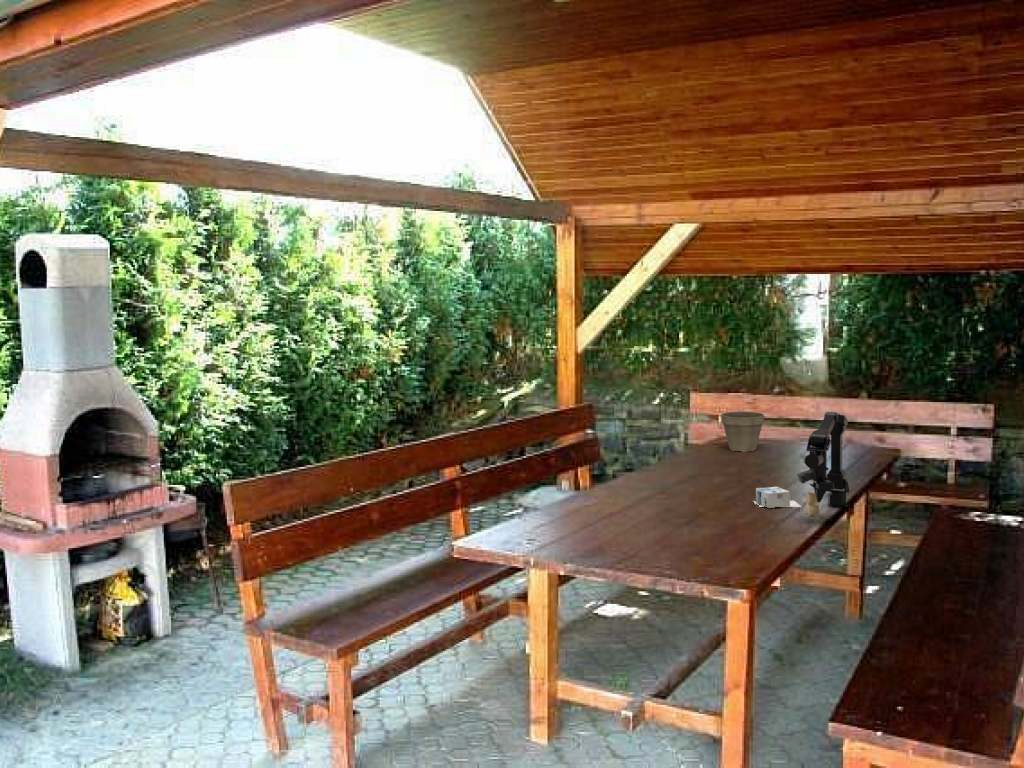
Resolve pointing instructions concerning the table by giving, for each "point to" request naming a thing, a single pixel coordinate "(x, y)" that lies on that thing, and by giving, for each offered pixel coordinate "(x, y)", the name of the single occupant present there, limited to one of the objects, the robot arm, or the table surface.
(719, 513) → the table surface
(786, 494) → the light bulb box
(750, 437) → the plant pot
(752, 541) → the table surface
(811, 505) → the oak block
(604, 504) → the table surface
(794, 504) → the white flat board
